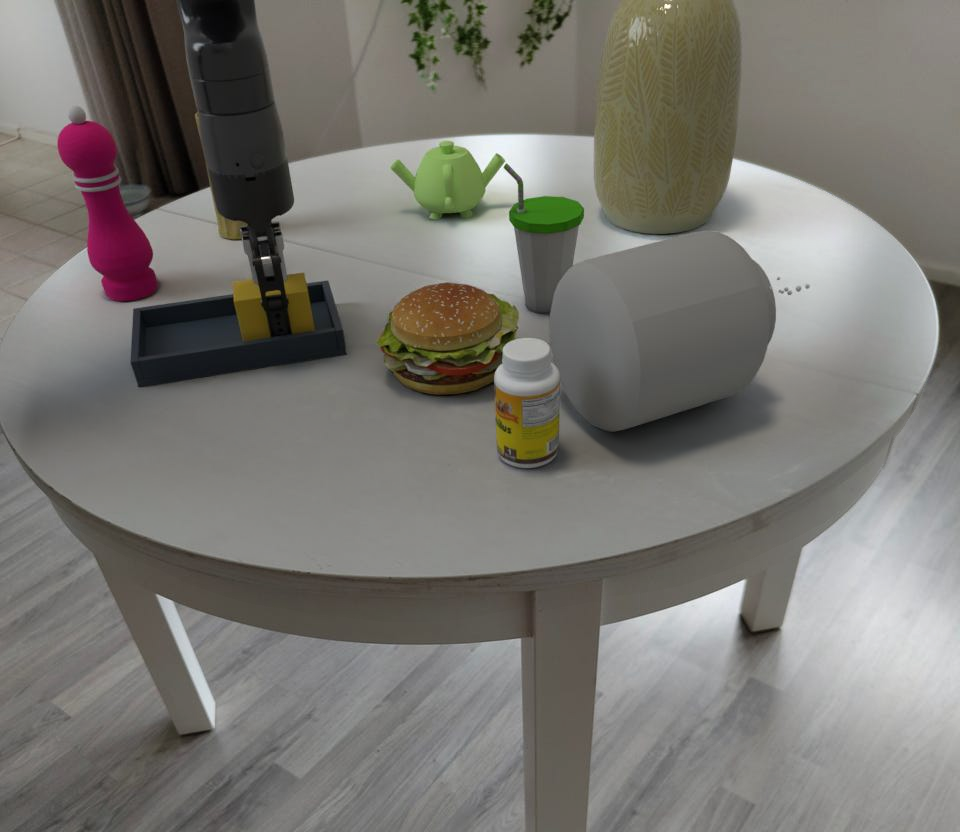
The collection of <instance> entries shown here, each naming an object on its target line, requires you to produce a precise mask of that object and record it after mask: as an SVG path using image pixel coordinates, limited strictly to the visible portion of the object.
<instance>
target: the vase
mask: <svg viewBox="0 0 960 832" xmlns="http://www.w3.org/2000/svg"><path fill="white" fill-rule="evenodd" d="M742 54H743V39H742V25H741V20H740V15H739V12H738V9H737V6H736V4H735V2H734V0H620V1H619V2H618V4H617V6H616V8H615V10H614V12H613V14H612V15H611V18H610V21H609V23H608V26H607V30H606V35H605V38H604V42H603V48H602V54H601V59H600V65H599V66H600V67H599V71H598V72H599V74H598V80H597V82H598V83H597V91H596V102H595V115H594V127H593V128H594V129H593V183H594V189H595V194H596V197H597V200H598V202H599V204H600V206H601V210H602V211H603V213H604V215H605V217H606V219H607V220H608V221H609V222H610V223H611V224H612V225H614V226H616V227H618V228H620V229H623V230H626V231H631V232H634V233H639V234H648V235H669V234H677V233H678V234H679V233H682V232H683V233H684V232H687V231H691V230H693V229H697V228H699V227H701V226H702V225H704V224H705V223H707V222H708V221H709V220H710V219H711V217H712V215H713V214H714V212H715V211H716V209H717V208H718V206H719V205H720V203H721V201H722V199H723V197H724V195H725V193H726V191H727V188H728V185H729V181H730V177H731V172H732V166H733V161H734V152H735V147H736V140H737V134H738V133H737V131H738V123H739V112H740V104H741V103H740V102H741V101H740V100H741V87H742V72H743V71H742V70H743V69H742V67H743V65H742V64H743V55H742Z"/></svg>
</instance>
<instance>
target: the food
mask: <svg viewBox="0 0 960 832" xmlns="http://www.w3.org/2000/svg"><path fill="white" fill-rule="evenodd" d="M519 314H520V313H519V310H518V308H517V307H516V306H515V305H511V304H510V303H509V302H508V301H505V300H502V299H501V298H499V297H497V296H496V294H494V293H489V292H487V291H485V290H484V289H481V288H478V287H477V286H473V285H470V284H465V283H458V282H440V283H439V282H438V283H435V284H428V285H425V286H423V287H420V288H418V289H415V290H414V291H410V292H409V293H408V294H407V295H405V296H404V297H402V298H401V299H400V300H399V301H398V302H397V303H396V304H395V305H394V307H393V309H392V310H391V311H390V312H389V313H388V323H386V324H385V326H384V329H383V331H382V332H381V333H380V335H379V338H378V339H376V341H375V343H376V345H377V346H378V347H380V351H381V352H382V353H384V355H383V364H384V366H385V367H386V369H387V370H388V371H391V372H393V374H394V376H395V377H396V378H397V380H398V381H400V382H401V384H402V385H403V386H404V387H406V388H408V389H411V390H414V391H416V392H419V393H424V394H429V395H435V396H439V395H459V394H465V393H469V392H473V391H477V390H479V389H481V388H483V387H486V386H488V385H490V384H491V383H494V375H495V371H496V370H497V368H498V367H499V366H500V365H501V364H502V359H503V347H504V346H505V345H506V344H507V343H508V342H510V341H512V340H515V339H516V335H517V331H518V329H519V327H518V321H519V319H520V316H519Z"/></svg>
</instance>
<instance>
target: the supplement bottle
mask: <svg viewBox="0 0 960 832" xmlns="http://www.w3.org/2000/svg"><path fill="white" fill-rule="evenodd" d="M493 387H494V407H495V408H494V413H495V433H496V435H495V437H496V450H497V454H498V456H499V458H500V459H501V460H502V461H503V462H505V463H506V464H508V465H509V466H512V467H515V468H519V469H534V468H539V467H542V466H545V465H547V464H549V463H550V462H552V461H553V460H554V459H555V458H556V456H557V455H558V453H559V447H560V407H561V405H560V404H561V403H560V401H561V398H560V397H561V383H560V373H559V370H558V368H557V367H556V366H555V365H554V362H552V358H551V346H550V345H549V344H548V343H547V342H546V341H544V340H542V339H539V338H534V337H519V338H515V340H512V341H510V342H508V343H507V344H506V345H505V346H504V347H503V359H502V364H501V365H500V366H499V367H498V368H497V370H496V371H495V375H494V382H493Z"/></svg>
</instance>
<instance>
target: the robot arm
mask: <svg viewBox="0 0 960 832" xmlns="http://www.w3.org/2000/svg"><path fill="white" fill-rule="evenodd" d="M175 2H176V4H177V9H178V12H179V17H180V21H181V24H182V29H183V34H184V50H185V58H186V65H187V70H188V76H189V80H190V85H191V89H192V93H193V98H194V103H195V107H196V113H197V112H198V120H199V130H200V135H199V138H200V137H201V139H200V143H201V142H202V143H201V147H202V146H203V148H202V151H204V152H203V156H204V155H205V157H204V161H205V160H206V162H205V165H206V164H207V167H206V170H207V169H208V172H207V174H208V173H209V177H208V179H209V178H210V182H211V186H212V191H213V195H214V199H215V204H216V208H217V211H218V212H219V214H220V215H221V216H223V217H224V218H226V219H229V220H232V221H242V222H245V223H247V226H240V229H241V234H242V239H241V241H242V246H243V251H244V254H245V255H247V258H248V262H249V267H250V272H251V279H253V282H254V283H255V284H256V285H258V286H259V289H260V294H261V298H262V300H261V305H262V307H263V308H264V311H266V315H267V320H268V325H269V330H270V335H271V337H276V336H282V335H289V334H292V331H291V325H290V320H289V315H288V310H287V308H288V304H289V300H288V297H286V292H285V286H284V282H285V281H286V280H287V275H288V273H287V267H286V261H285V256H284V250H285V242H284V238H283V232H282V231H283V230H282V229H281V223H280V221H272V220H274V219H275V218H277V217H279V216H280V217H281V216H283V215H285V214H286V213H288V212H289V211H290V210H291V209H292V208H293V206H294V205H295V195H294V188H293V184H292V177H291V172H290V165H289V160H288V154H287V147H286V142H285V141H286V140H285V136H284V131H283V126H282V122H281V118H280V115H279V112H278V107H277V103H276V100H275V93H274V88H273V87H274V86H273V82H272V76H271V70H270V69H271V68H270V64H269V60H268V55H267V51H266V47H265V42H264V40H263V36H262V34H261V29H260V27H259V23H258V16H257V10H256V2H255V0H176V1H175ZM275 290H279V291H280V292H281V294H276V295H269V296H267V297H266V292H268V291H275Z"/></svg>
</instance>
